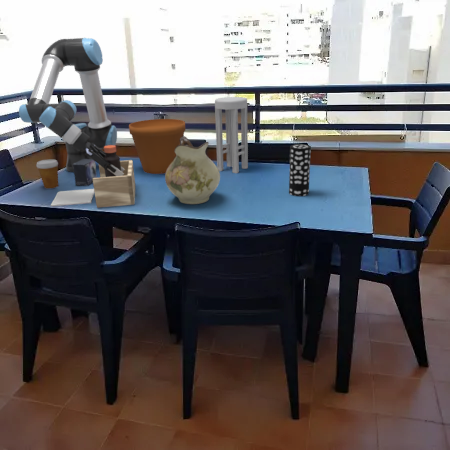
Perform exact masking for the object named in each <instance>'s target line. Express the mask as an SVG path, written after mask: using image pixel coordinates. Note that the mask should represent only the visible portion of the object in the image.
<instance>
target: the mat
mask: <svg viewBox="0 0 450 450" xmlns="http://www.w3.org/2000/svg"><path fill="white" fill-rule="evenodd" d="M94 196H95V192H94V188H86V189H73V190H60V191H57V193H56V194H55V196H54V199H53V200H52V202H51V204H50V206H51V207H59V206H61V207H62V206H70V205H82V204H92V201H93V199H94Z"/></svg>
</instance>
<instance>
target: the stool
mask: <svg viewBox="0 0 450 450" xmlns="http://www.w3.org/2000/svg"><path fill="white" fill-rule="evenodd" d="M222 110H225V142H226V143H223V116H222V115H223V113H222V112H223V111H222ZM238 110H240V129H241V130H240V131H241V132H240V135H241V138H240V139H241V141H240V144H241V145H239V118H238V117H239V116H238V115H239V111H238ZM214 111H215V113H214V114H215V118H214V119H215V142H216V166H217V168H218V170H219V172H222V171H224V170H225V169H224V155H225V154H226V167H229V168H230V167H232V173H233V174H238V173H239V171H240V169H239V168H240V167H239V163H240V162H239V159H240V158H239V156H240V155H241V169H246V170H247V169H248V168H249V164H248V163H249V159H248V156H249V155H248V154H249V153H248V152H249V151H248V150H249V149H248V147H249V145H248V144H249V143H248V98H247V97H243V96H227V97H226V96H225V97H218V98H215V100H214ZM225 148H226V149H225ZM240 149H241V151H239V150H240Z"/></svg>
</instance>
